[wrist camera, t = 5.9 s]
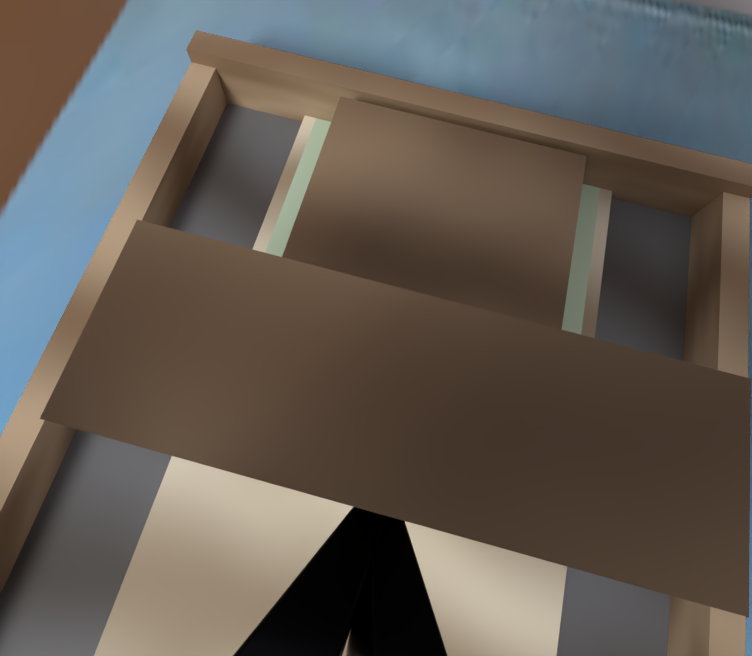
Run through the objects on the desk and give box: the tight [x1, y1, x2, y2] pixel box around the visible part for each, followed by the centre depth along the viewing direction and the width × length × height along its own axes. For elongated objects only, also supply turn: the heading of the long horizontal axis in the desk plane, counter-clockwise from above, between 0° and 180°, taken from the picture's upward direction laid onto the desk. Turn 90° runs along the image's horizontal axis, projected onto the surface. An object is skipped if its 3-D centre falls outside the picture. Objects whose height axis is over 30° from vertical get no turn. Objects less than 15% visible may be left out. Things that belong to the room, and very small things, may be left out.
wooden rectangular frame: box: [0, 30, 752, 656], centre depth 15 cm, size 25×22×3 cm
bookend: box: [40, 97, 751, 617], centre depth 13 cm, size 13×9×10 cm
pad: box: [265, 118, 600, 335], centre depth 19 cm, size 9×12×1 cm
